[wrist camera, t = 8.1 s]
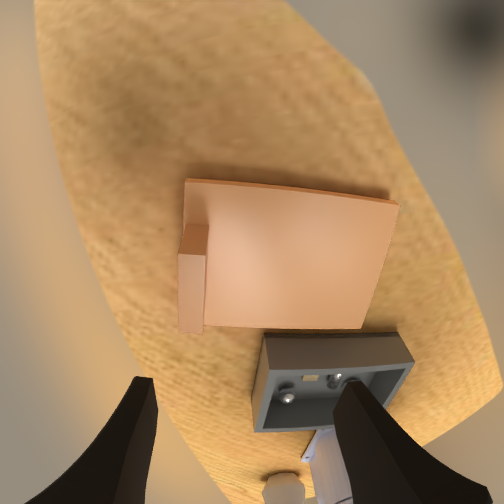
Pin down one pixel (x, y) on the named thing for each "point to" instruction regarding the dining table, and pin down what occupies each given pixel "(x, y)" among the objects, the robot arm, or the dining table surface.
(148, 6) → the dining table surface
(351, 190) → the dining table surface
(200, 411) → the dining table surface
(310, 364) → the tub
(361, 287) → the lid
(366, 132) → the dining table surface
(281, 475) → the salt shaker
